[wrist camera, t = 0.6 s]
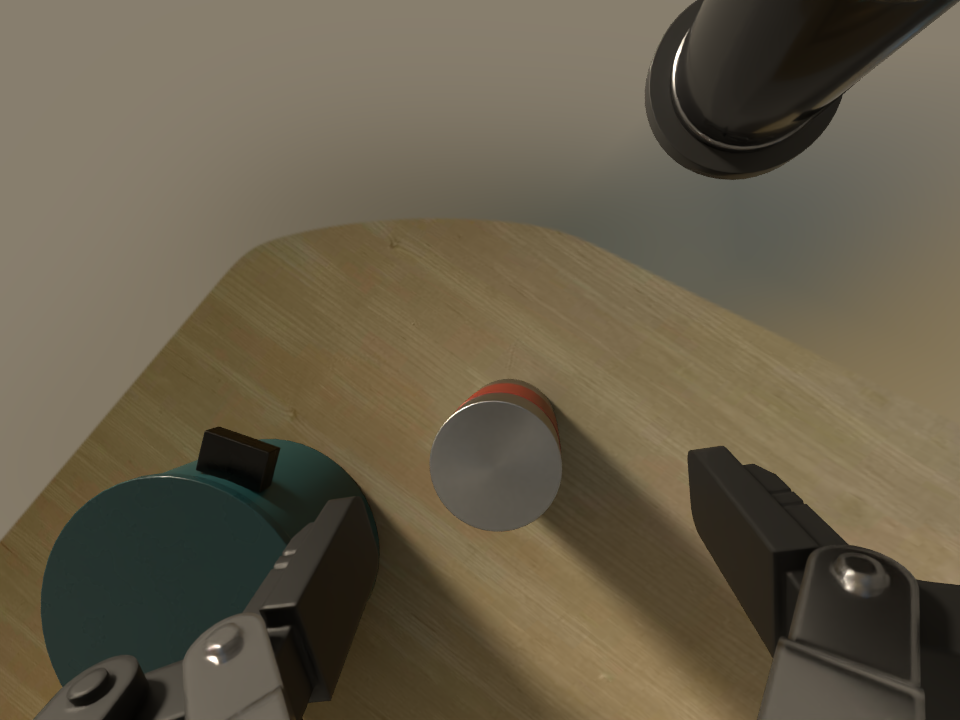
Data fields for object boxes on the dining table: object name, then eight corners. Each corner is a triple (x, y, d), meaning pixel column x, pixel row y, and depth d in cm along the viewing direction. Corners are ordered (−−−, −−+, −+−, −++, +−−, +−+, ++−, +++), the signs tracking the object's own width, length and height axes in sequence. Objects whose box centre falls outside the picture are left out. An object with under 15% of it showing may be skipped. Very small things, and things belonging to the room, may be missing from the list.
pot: (209, 380, 35) (79, 400, 25) (417, 449, 34) (364, 500, 24) (150, 628, 37) (9, 736, 27) (344, 706, 36) (267, 851, 26)
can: (477, 366, 33) (448, 382, 23) (569, 394, 32) (580, 423, 22) (451, 454, 33) (412, 507, 23) (540, 484, 32) (540, 551, 23)
